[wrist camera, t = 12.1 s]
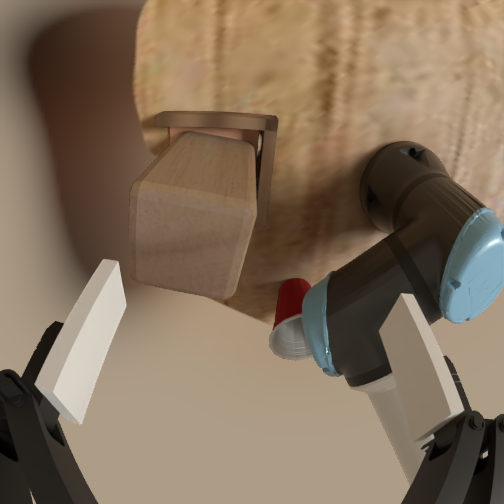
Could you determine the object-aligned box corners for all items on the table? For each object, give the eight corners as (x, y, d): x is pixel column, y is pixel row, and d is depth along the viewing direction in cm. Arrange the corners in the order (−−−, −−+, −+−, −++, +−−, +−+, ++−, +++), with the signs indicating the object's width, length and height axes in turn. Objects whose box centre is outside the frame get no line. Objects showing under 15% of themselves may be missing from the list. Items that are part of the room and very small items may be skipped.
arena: (276, 115, 35) (278, 120, 32) (264, 214, 44) (265, 226, 41) (163, 111, 34) (155, 115, 31) (166, 208, 43) (160, 220, 40)
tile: (259, 128, 36) (259, 129, 36) (251, 207, 43) (251, 208, 43) (170, 125, 35) (169, 125, 35) (172, 203, 42) (171, 204, 42)
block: (240, 206, 42) (233, 306, 26) (173, 193, 41) (126, 285, 25) (256, 141, 37) (260, 209, 21) (183, 127, 35) (125, 184, 19)
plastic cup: (336, 280, 51) (352, 331, 42) (301, 316, 57) (308, 366, 47) (288, 255, 48) (297, 308, 38) (254, 296, 53) (255, 349, 44)
